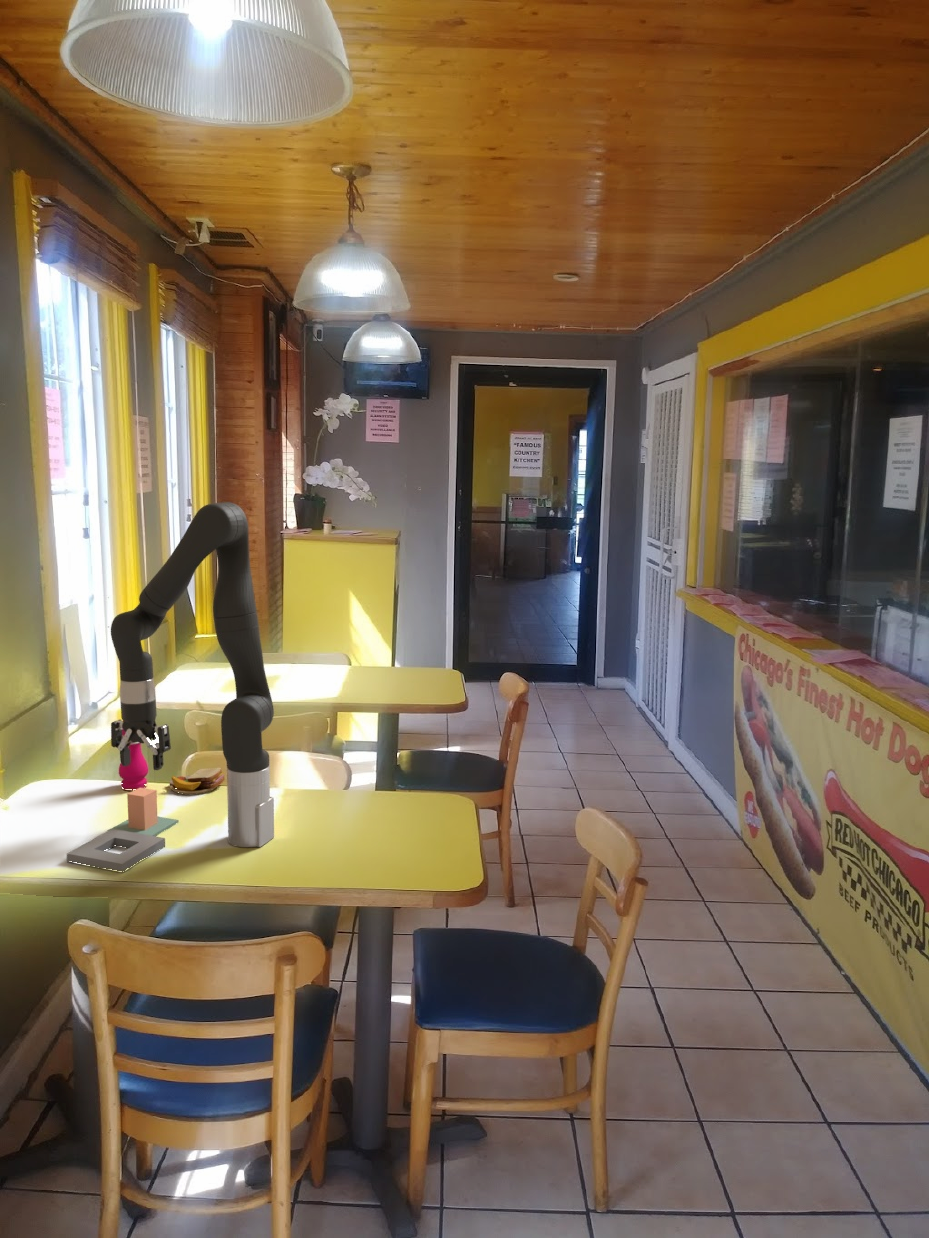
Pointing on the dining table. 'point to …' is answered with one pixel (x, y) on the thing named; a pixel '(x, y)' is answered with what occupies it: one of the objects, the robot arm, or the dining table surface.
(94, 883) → the dining table surface
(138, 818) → the terracotta block
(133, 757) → the pepper mill
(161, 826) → the rubber pad
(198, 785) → the toy sandwich meal
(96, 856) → the pocket plate
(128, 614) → the robot arm
